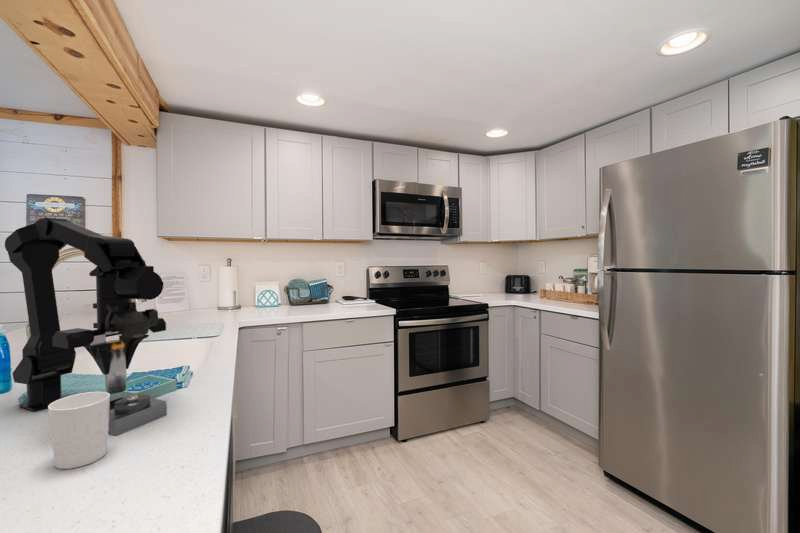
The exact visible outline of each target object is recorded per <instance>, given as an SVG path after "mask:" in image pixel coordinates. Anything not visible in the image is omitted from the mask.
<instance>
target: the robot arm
mask: <svg viewBox="0 0 800 533" xmlns="http://www.w3.org/2000/svg"><path fill="white" fill-rule="evenodd" d="M67 245H68V246H70V247H72V248H75V249H77V250H79V251H81V252H83V257H84V258H85V259H86V260H87V261H89V262H90V263H92V264H93V265H94V266H96V267H95V268H94V269H92V270H91V271H90V272H89V277H95V286H96V292H95V293H96V295H95V296H96V302H93V303H92V309H96V322H93V323H92V324H93V329H87V328H79V327H77V328H70V329H69V328H68V329H64V330H61V324H60V318H59V312H58V311H59V310H58V304H57V296H56V290H55V284H54V277H53V276H54V275H53V268H54V267H55V265H56V264H57V262H58V261H59V259H60V251H61V250H62V249H63V248H64V247H66V246H67ZM4 248H5V250H6V251H7V254H8V259H9V261H10V263H12V265H13V266H15V267H16V268H17V269H18V270H19V271H20V272H21V275H22V283H23V289H24V296H25V302H26V303H25V304H26V310H27V318H28V325H29V330H30V331H29V332H30V337H29V338H28V340H27V342H26V343H25V345H24V346H23V348H22V352H21V353H22V359H21V360H20V362H19V363H18V365H17V366H16V368H15V369H14V370H13V372H12V379H13V382H14V383H15V384H16V383H17V384H21V385H22V384H23V385H26V402H23V403H20V404H19V406H18V407H20V408H22V409H25V410H29V411H32V412H36V411H39V410H43V409H48V406H49V404H51V403H52V402H54V401H56V400H59V399H61V398H64V397H65V396H62V394H63V393H62V376H63V375H67V374H72V373H73V369H74V366H75V361H76V357H77V352H76V349H77V348H81V347H82V348H85V349H86V351H87V352H88V353H89V355H90V356H91V357H92V358H93V360H94V362H95V364H96V365H97V367H98V368H99V370H100V372H101V374H102V375H104V376H105V375H107V374H108V371H109V363H108V348H109V346H110V345H111V343H108V342H107V341H106V340H107V338H108V337H109V338H110V337H114V336H118V340H126V370H128V369H129V368H130V365H131V362H132V359H133V357H134V356H135V352H136V350H137V348H138V346H139V344H140V343H141V342H142V341H143V340H145V339H148V338H149V336H150V335H149V334H148V333H149V331H150V332H152V333H160V332H165V331H167V322H166V320H165V319H164V318H163V317H159V312H158V311H159V310H157V309H155V308H150V309H149V308H148V309H145V310H142V311H138V310H137V304H136V301H132V300H149V301H151V300H154V299H156V298H158V297H159V296H160V295H161V293H162V292H163V289H164V281H163V280H162V277H161V276H160V274H158V273H157V272H155V270H154V269H155V266H153V265H147V264H146V261H145V259H143V257H142V255H141V253H140V252H139V250H138V248H137V247H136V246H135V242H134V241H133V240H132V239H130V238H127V237H126V238H125V237H119V236H118V237H117V236H110V235H103V234H100V233H98V232H95V231H93V230H90V229H88V228H85V227H83V226H81V225H78V224H75V223H73V222H72V221H70V220H68V219H66V218H58V217H57V218H55V217H43V218H39V219H37V221H35V222H34V223H31V224H28V225H26V226H23V227H19V228H17V229H16V230H14V231H13V232H11V234H9V235H8V236H7V237H6V239H5V240H4Z"/></svg>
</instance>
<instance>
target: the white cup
mask: <svg viewBox="0 0 800 533" xmlns="http://www.w3.org/2000/svg"><path fill="white" fill-rule="evenodd" d="M63 397H64V398H61V399H59V400H56V401H54V402H52V403H51V404H49V406H48V407H47V410H48V421H49V422H48V424H49V435H50V442H51V449H52V453H53V463H54V464H53V465H54V468H57V469H59V470H71V469H76V468H80V467H83V466H86V465H89V464H92V463H94V462H96V461H98V460H100V459H102V458H103V457H104V455H106V454H107V452H108V438H109V437H108V436H109V434H108V430H109V410H110V394H109V393H107V392H106V391H89V392H82V393H77V394H75V393H74V394H71V395H69V396H63Z"/></svg>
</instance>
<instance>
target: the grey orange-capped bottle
mask: <svg viewBox="0 0 800 533" xmlns="http://www.w3.org/2000/svg"><path fill="white" fill-rule="evenodd" d="M106 342H108V343H111V345H110V346H109V348H108V363H109V371H108V374H107V375H104V376H105V378H104V379H105V392H107V393H109V394H115V393H120V392H123V391H125V390H126V389H127V381H128V380H127V369H126V340H119V339H111V340H107V341H106Z"/></svg>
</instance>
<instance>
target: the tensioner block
mask: <svg viewBox="0 0 800 533" xmlns="http://www.w3.org/2000/svg"><path fill="white" fill-rule="evenodd" d="M167 413H168V412H167V400H163V399H159V398H156V397H155V398H151V397H150V396H148V395H137V394H133V393H129V394H125V395H122V396H119V397H116V398H113V399H110V410H109V430H108V435H112V436H115V437H116V436H118V435H121V434H123V433H126V432H129V431H132V430H134V429H135V428H138V427H141V426H143V425H145V424H148V423H151V422H153V421H155V420H158V419H160V418H163V417H164V416H167V415H168V414H167Z"/></svg>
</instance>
